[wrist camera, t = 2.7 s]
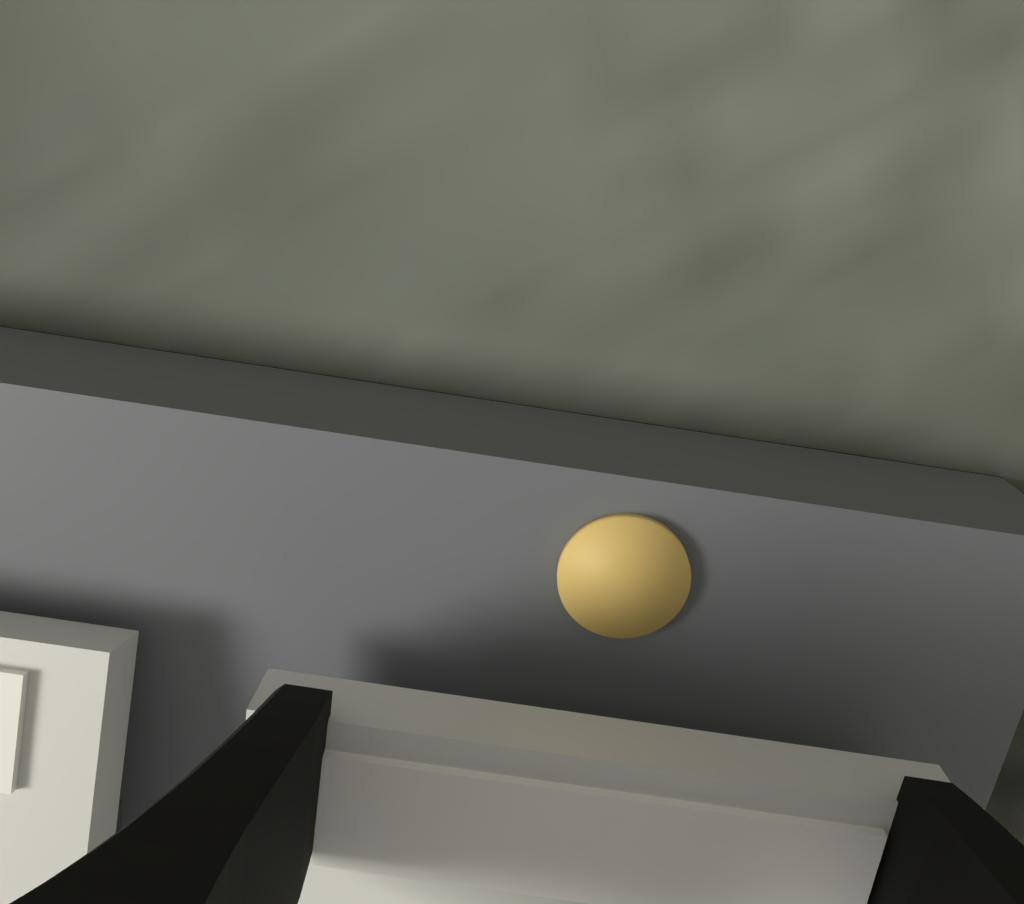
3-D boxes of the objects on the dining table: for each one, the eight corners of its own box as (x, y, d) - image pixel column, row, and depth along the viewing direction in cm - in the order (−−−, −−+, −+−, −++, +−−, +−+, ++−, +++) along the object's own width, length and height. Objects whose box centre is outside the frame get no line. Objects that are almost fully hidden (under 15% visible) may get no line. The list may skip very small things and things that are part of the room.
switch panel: (788, 1105, 20) (831, 1282, 17) (-338, 952, 19) (-500, 1106, 16) (1003, 477, 15) (1116, 568, 12) (-473, 255, 15) (-735, 292, 12)
